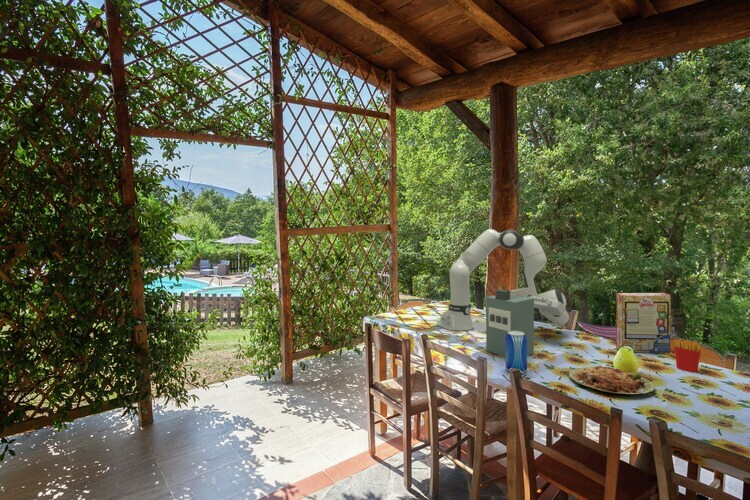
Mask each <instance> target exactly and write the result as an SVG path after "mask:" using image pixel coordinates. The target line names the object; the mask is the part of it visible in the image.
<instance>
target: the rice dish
mask: <svg viewBox="0 0 750 500" xmlns="http://www.w3.org/2000/svg"><path fill="white" fill-rule="evenodd" d="M568 376H569V378H571V379H572V380H573V381H575V382H576V383H578V384H580V385H583V386H586V387H589V388H592V389H594V390H597V391H601V392H604V393H605V392H606V393H610V394H622V395H623V394H625V395H640V394H641V395H642V394H646V393H647V394H648V393H651V392H653V391H654V390H655V389H656V388H655V384H654V383H653V382H652V381H650V379H647V378H645V377H643V376H641V374H640V373H637V372H629V371H625V370H622V369H621V368H614V367H609V366H602V365H597V366H588V367H578V368H577V367H576V368H574V369H571V370H568ZM581 381H582V382H581Z"/></svg>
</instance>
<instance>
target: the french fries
mask: <svg viewBox="0 0 750 500" xmlns="http://www.w3.org/2000/svg"><path fill="white" fill-rule="evenodd" d="M673 341H674V344H675V346H674V353H675V354H674V355H675V364H676V369H678V370H681V371H685V372H689V373H695V374H696V373H698V371H699V365H700V358H701V353H702V352H701V351H702V350H701V349H700V348H701V343H700V344H699V343H697V342H696V341H690V340H686V339H685V340H682V339H675V338H674V340H673Z"/></svg>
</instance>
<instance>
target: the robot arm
mask: <svg viewBox="0 0 750 500" xmlns="http://www.w3.org/2000/svg"><path fill="white" fill-rule="evenodd" d="M499 246H500V247H502V248H503V249H505V250H518V251H519V252H520V253H521V255H522V258H523V261H524V267H523V269H522V275H523V276H522V277H523V280H524V284H525V288H526V287H527V288H532V294H531V295H526V296H523V297H528V298H534V313H538V314H541V315H542V316H544V317H545V318H547V319H548V320H549V321H551V322H552V323H554V324H555V325H559V326H563V325H565V324H567V323H568V322H569V320H570V315H569V314H568V311H567V310H566V308H567V306H568V303H567V300H568V299H567V297H566V295H565V294H564V292H562V291H561V290H560V289H557V288H555V289H552V290H547V291H544V292H541V293H537V288H536V285H535V280H534V278H535V276H536V274H538V273H539V272H540V271H541V270H543V268H544V267H545V266H546V264H547V256H546V255H547V254H546V253H545V250H544V249H543V246H542V245H541V243H540V242H539V240H538V239H537V238H536V236H534V234H528V235H524V236H523V235H521V234H520V233H518V231H516V230H515V229H506V230H504V231H502V232H498V231H496V229H493V228H488V229H486V230H484V231H483V232H482V233H481V234H480V235H478V237H477V238H475V239H474V241H473V242H472V243H471V244H470V245H469V246H468V248H467V249H466V250H465V251H464V252H463V253H462V254H461V255H460V256H459V257H458V258H457V259H456V260H455V261H454V262H453V264H452V265H451V267H450V269H449V286H450V287H449V289H450V303H447V307H448V309H447V310H445V311H444V312H443V313H442V314H441V315H440V320H439V321H437V322H436V324H437V325H436V326H438V325H439V326H438V327H440V328H443V329H445V330H448V331H463V332H464V331H470V330H473V329H474V327H473V322H472V315H471V310H472V309H471V308H472V305H471V289H470V288H471V286H470V283H471V282H470V281H471V280H470V274H471V273H472V272H473V271H474V270H475V269H476V268H477V267H479V265H481V263H482V262H483V261H484V260H485V259H486V258H487V257H488V256H489V254H491V252H493V251H494V249H496V248H497V247H499Z"/></svg>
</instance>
